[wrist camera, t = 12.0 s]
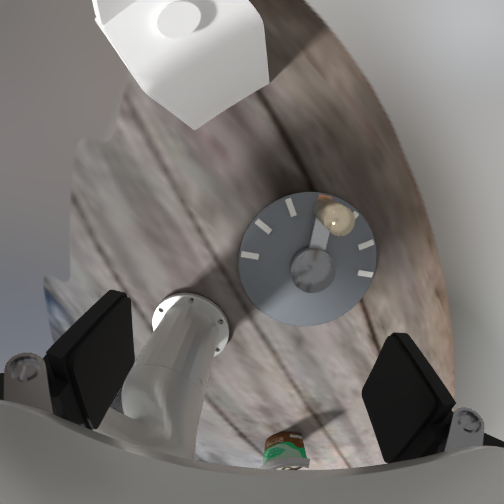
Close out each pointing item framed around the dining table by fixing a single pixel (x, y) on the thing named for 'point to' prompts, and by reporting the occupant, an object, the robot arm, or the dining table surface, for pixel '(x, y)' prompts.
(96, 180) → the dining table surface
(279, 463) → the food container
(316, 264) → the lever
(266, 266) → the dial board
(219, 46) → the milk
